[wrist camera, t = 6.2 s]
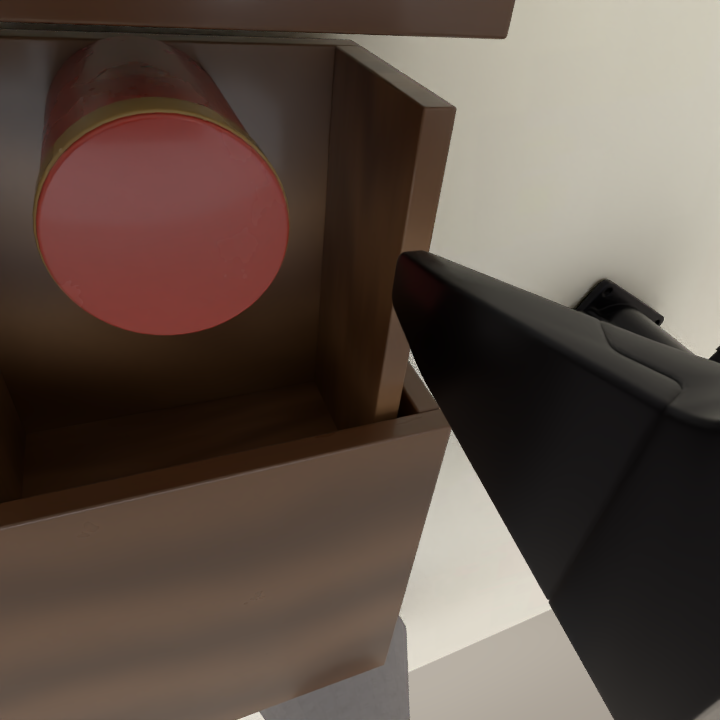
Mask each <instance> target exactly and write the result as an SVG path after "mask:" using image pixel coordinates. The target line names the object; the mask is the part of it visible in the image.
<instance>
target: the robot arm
mask: <svg viewBox="0 0 720 720" xmlns="http://www.w3.org/2000/svg"><path fill="white" fill-rule="evenodd" d="M392 304H393V307H394V310H395V313H396V315H397V317H398V320H399V322H400V325H401V327H402V330H403V332H404V334H405V337H406V339H407V342H408V344H409V347H410V349H411V351H412V354H413V356H414V359H415V361H416V364H417V366H418V368H419V370H420V372H421V375H422V376H423V378H424V380H425V382H426V384H427V386H428V388H429V390H430V391H431V393H432V395H433V397H434V398H435V400H436V402H437V404H438V406H439V407H440V409H441V411H442V413H443V415H444V416H445V418H446V420H447V422H448V423H449V425H450V427H451V429H452V431H453V432H454V434H455V436H456V438H457V439H458V441H459V443H460V445H461V447H462V448H463V450H464V452H465V454H466V456H467V457H468V459H469V461H470V463H471V464H472V466H473V468H474V470H475V472H476V473H477V475H478V477H479V479H480V481H481V482H482V484H483V486H484V488H485V489H486V491H487V493H488V495H489V497H490V498H491V500H492V502H493V504H494V505H495V507H496V509H497V511H498V513H499V514H500V516H501V518H502V520H503V522H504V523H505V525H506V527H507V529H508V530H509V532H510V534H511V536H512V538H513V539H514V541H515V543H516V545H517V546H518V548H519V550H520V552H521V554H522V555H523V557H524V559H525V561H526V563H527V564H528V566H529V568H530V570H531V571H532V573H533V575H534V577H535V579H536V580H537V582H538V584H539V586H540V588H541V589H542V591H543V593H544V595H545V596H546V598H547V599H548V600H549V604H550V606H551V608H552V610H553V611H554V613H555V615H556V617H557V618H558V620H559V622H560V624H561V626H562V627H563V629H564V631H565V633H566V634H567V636H568V638H569V640H570V642H571V644H572V645H573V647H574V649H575V651H576V652H577V654H578V656H579V657H580V660H581V661H582V663H583V665H584V667H585V668H586V670H587V672H588V674H589V675H590V677H591V679H592V681H593V683H594V684H595V686H596V688H597V690H598V692H599V693H600V695H601V697H602V699H603V701H604V702H605V704H606V706H607V708H608V709H609V711H610V713H611V715H612V717H613V718H614V720H720V346H719V347H718V348H717V349H716V350H717V352H716V353H714V354H713V355H712V356H711V357H710V358H709V359H705V358H702V357H699V356H696V355H695V354H693V353H692V352H691V351H690V350H688V349H687V348H686V347H685V346H683V345H682V344H681V343H679V342H678V341H677V340H676V339H674V338H673V337H672V336H671V335H669V334H668V333H667V332H666V331H664V330H663V329H662V328H661V327H659V326H660V325H661V324H662V322H663V320H664V317H663V316H662V315H660V314H659V313H658V312H656V311H655V310H653V309H652V308H651V307H649V306H648V305H646V304H645V303H643V302H642V301H640V300H639V299H637V298H636V297H634V296H633V295H631V294H630V293H628V292H627V291H625V290H624V289H622V288H621V287H619V286H618V285H617V284H615V283H614V282H612V281H611V280H608V279H607V280H603V281H602V282H600V283H599V284H598V285H597V286H596V287H595V288H594V290H593V291H592V292H591V293H590V294H589V295H588V296H587V297H586V299H585V300H584V301H583V302H582V303H581V304H580V305H579V307H578V308H577V309H576V310H573V309H571V308H568V307H566V306H563V305H561V304H558V303H556V302H553V301H551V300H548V299H546V298H543V297H541V296H538V295H536V294H533V293H531V292H528V291H525V290H523V289H520V288H518V287H515V286H513V285H510V284H508V283H505V282H503V281H500V280H498V279H495V278H493V277H490V276H488V275H485V274H483V273H480V272H477V271H475V270H472V269H470V268H467V267H465V266H462V265H460V264H457V263H455V262H452V261H450V260H447V259H445V258H442V257H440V256H437V255H434V254H432V253H429V252H427V251H424V250H416V251H406V252H402V253H401V254H400V255H399V257H398V259H397V263H396V269H395V276H394V282H393V289H392Z"/></svg>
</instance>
